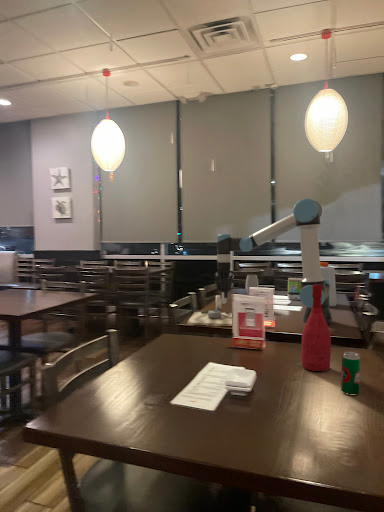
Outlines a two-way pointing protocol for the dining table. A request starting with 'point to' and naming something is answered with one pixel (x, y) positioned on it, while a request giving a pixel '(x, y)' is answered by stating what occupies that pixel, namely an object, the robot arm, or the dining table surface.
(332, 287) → the plastic bottle
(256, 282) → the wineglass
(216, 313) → the grey l-shaped block
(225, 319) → the dial board
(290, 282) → the tea box
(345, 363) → the soda can
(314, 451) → the dining table surface
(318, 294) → the wine bottle
